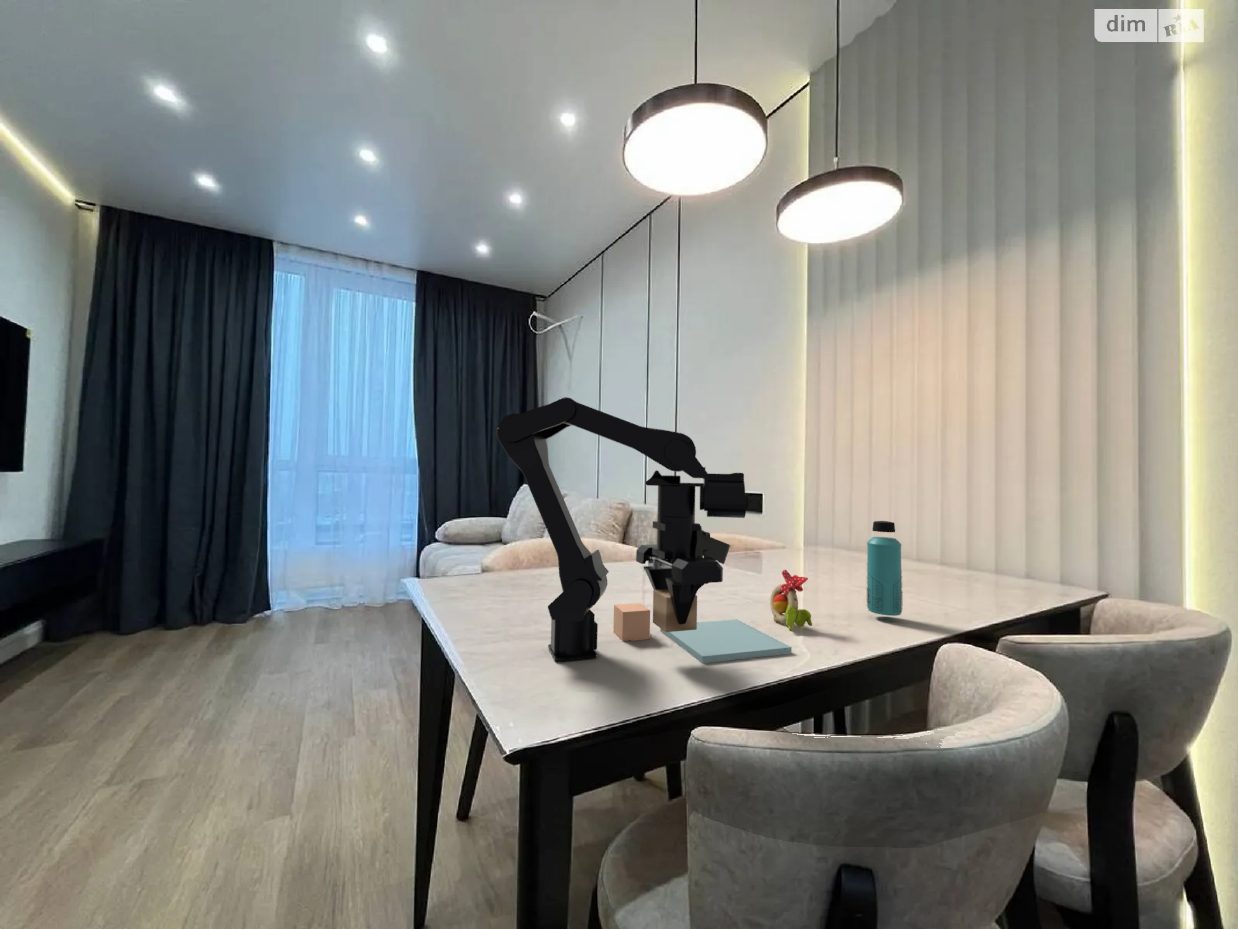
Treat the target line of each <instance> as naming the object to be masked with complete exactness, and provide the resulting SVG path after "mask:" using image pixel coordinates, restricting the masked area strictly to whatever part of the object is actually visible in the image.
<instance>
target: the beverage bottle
mask: <svg viewBox="0 0 1238 929" xmlns="http://www.w3.org/2000/svg"><path fill="white" fill-rule="evenodd" d="M872 531H873V532H877V533H879V532H880V533H896V526H895V522H893V521H887V520H875V521H873V522H872ZM866 545H867V548H866V549H867V551H866V552H867V554H866V555H867V557H866V561H867V562H866V585H867V586H866V607H867V609H868V611H869V612H871V613H873V614H876V615H877V614H878V615H881V616H890V617H891V616H892V617H893V616H894V617H895V616H896V617H897V616H901V615H902V612H903V600H904V599H903V584H904V583H903V573H902V572H903V571H902V543H901V542H900V541H899V540H898V539H897V538H894V537H886V536H873V537H871V538H870V539H868V541H867V542H866Z"/></svg>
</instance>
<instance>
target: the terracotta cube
mask: <svg viewBox="0 0 1238 929" xmlns="http://www.w3.org/2000/svg"><path fill="white" fill-rule="evenodd" d="M612 627H613V628H612V630H613V634H615V636H616V637H619V638H618V639H619V641H621V640H622V641H621V642H629V641H628V640H632V641H640V640H641V641H642V640H650V636H651V633H650V632H651V610H650V609H649V608H648V607H646V606H645V605H643V604H642V603H641V602H634V603H633V602H632V603H619V604H614V605H613V626H612Z"/></svg>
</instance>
